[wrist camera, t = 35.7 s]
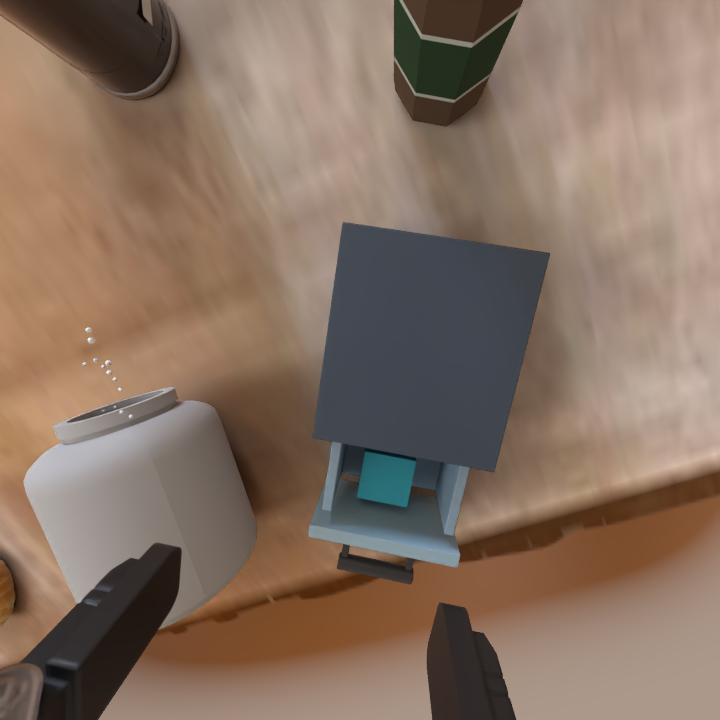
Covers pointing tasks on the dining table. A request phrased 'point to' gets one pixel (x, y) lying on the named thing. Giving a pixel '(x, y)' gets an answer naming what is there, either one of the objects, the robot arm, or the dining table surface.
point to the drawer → (390, 517)
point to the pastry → (6, 593)
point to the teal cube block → (386, 477)
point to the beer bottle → (447, 53)
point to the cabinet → (425, 344)
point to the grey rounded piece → (144, 494)
